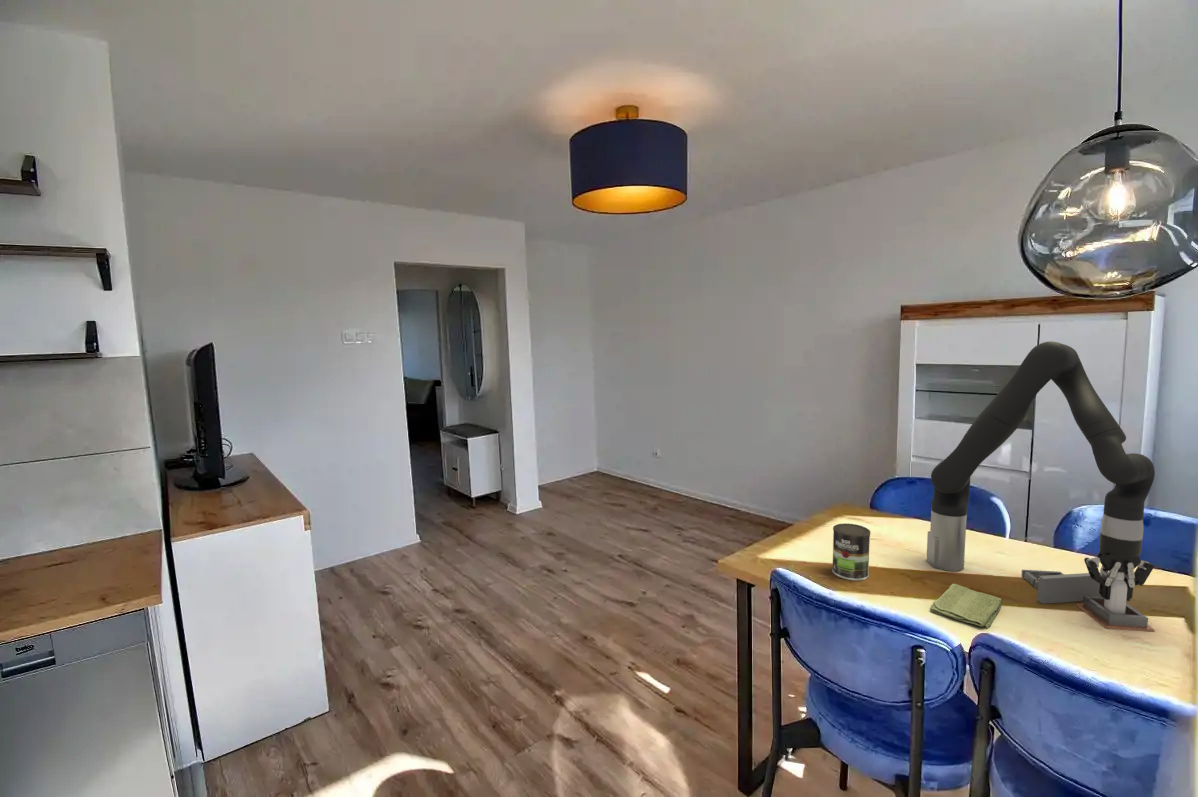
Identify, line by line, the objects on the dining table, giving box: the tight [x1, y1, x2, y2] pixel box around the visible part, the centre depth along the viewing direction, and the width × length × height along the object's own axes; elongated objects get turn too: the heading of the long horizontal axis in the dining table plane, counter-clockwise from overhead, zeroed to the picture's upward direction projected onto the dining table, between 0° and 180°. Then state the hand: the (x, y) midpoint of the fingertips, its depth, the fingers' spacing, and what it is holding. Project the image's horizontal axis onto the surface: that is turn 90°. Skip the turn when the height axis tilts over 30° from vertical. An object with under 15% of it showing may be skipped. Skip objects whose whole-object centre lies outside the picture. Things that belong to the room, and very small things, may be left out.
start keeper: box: [1021, 569, 1064, 590], centre depth 154 cm, size 10×8×2 cm
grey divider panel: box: [1037, 571, 1102, 604], centre depth 144 cm, size 22×2×7 cm, turn 93°
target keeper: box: [1076, 596, 1155, 632], centre depth 135 cm, size 10×11×3 cm
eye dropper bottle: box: [1104, 572, 1127, 614], centre depth 135 cm, size 4×6×12 cm
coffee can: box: [831, 523, 871, 582], centre depth 164 cm, size 10×10×14 cm
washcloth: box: [929, 583, 1003, 630], centre depth 142 cm, size 13×18×3 cm
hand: (1114, 598), depth 135 cm, fingers closed on eye dropper bottle, 3 cm apart
